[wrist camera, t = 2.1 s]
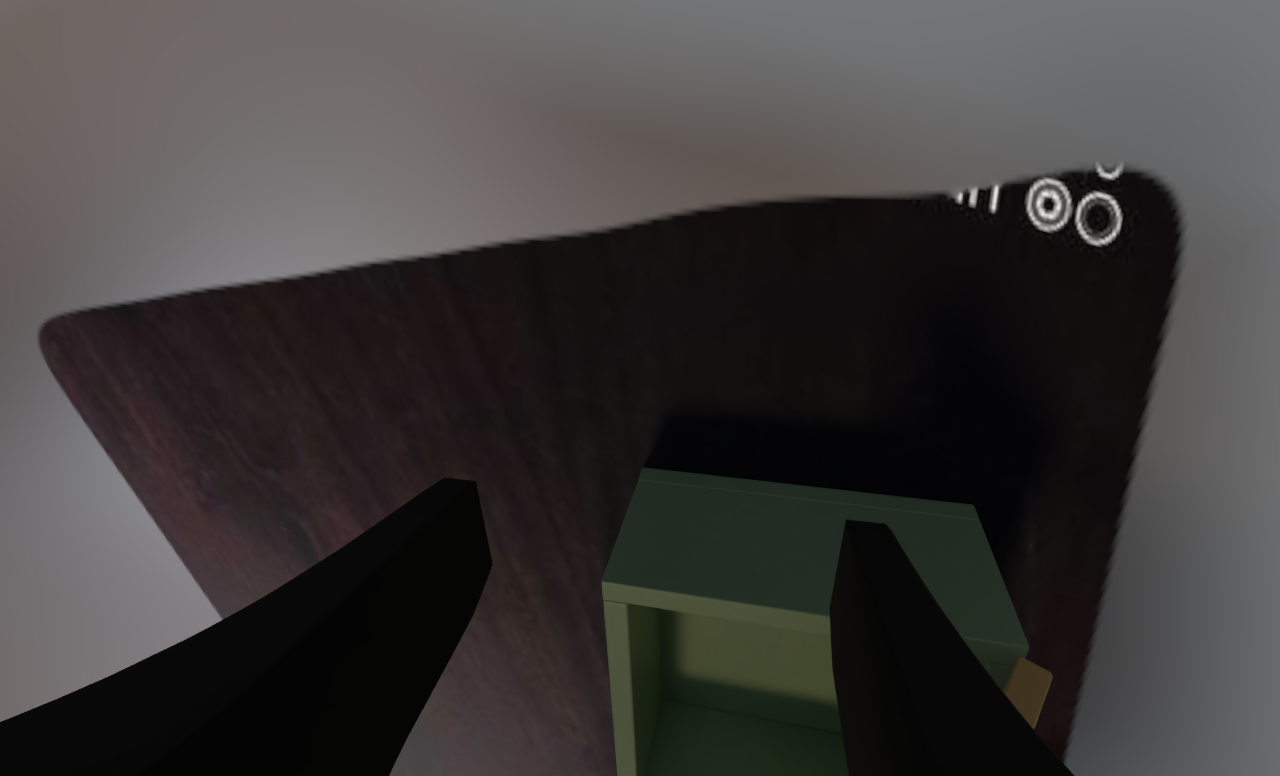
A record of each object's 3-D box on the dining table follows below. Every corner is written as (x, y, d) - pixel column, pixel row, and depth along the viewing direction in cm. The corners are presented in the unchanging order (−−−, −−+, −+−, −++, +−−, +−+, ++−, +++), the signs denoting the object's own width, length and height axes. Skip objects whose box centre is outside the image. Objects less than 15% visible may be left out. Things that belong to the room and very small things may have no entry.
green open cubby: (649, 691, 30) (620, 819, 25) (642, 466, 23) (600, 581, 18) (900, 739, 27) (924, 892, 22) (974, 504, 21) (1030, 648, 16)
